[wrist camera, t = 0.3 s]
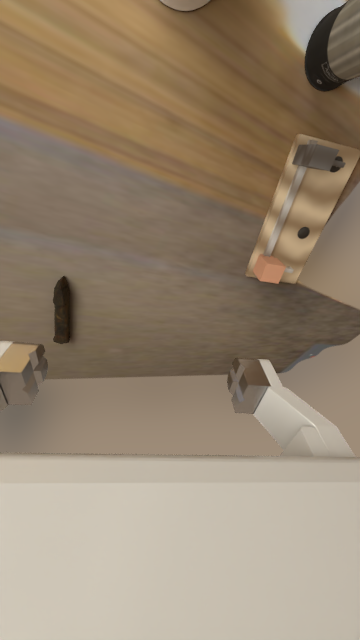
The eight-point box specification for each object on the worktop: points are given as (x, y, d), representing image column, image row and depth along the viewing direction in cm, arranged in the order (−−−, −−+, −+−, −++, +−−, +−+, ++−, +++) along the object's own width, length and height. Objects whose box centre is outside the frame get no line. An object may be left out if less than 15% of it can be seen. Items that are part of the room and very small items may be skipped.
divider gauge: (296, 134, 45) (319, 131, 38) (357, 150, 47) (389, 150, 40) (245, 273, 60) (255, 288, 54) (292, 281, 62) (307, 296, 56)
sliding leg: (257, 253, 55) (266, 263, 50) (293, 259, 57) (306, 270, 52) (251, 269, 58) (259, 280, 53) (286, 274, 59) (297, 286, 54)
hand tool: (71, 336, 69) (66, 347, 65) (56, 333, 68) (50, 344, 64) (76, 277, 59) (71, 286, 55) (59, 273, 58) (52, 282, 54)
